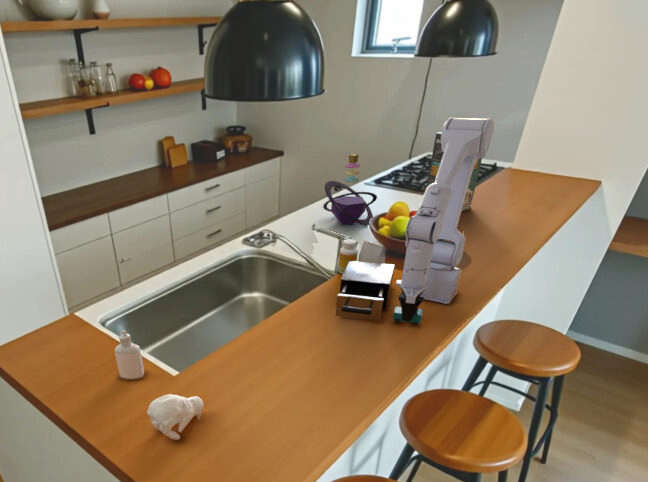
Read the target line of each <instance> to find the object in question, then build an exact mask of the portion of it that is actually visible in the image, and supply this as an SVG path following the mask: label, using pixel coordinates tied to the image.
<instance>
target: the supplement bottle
mask: <svg viewBox="0 0 648 482" xmlns="http://www.w3.org/2000/svg"><path fill="white" fill-rule="evenodd" d="M338 255H339V256H338V266H337V268H338V269H337V272H338V273H340V274H342V275H343V274H344V272H345V270H346V267H347V265H348V263H349V261H358V256H359V250H358V248H357V240H355V239H351V238H348V239H344V240H342V247H341V248H340V249H339V254H338Z"/></svg>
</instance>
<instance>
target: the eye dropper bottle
mask: <svg viewBox="0 0 648 482" xmlns="http://www.w3.org/2000/svg"><path fill="white" fill-rule="evenodd" d="M118 339H119V344H118V345H116V346H115V348H114V355H115V360H116V361H115V362H116V364H117V370H118V375H119V377H120V378H121V379H125V380H139V379H142V378H143V377H144V374H145V367H144V361H143V357H142V351H141V347H140V346H139V345H138V344H136V343H133V342H132V338H131V334H130V333H127V331H126V330H125V329H122V330H121V334H120V335H119V336H118Z"/></svg>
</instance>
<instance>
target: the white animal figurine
mask: <svg viewBox="0 0 648 482" xmlns="http://www.w3.org/2000/svg"><path fill="white" fill-rule="evenodd" d="M204 406H205V405H204V401H203V399H202V398H201V397H199V396H197V395H194V396H190V397H185V396H182V395H179V394H171V393H168V394H164V395H162V396H160V397H157V398H156V399H154V400H153V401H151V402H150V403H149V406H148V409H147V411H146V414H147V415H148V418H149V420H150V423H151V424H152V426H153V428H154V429H156V430H157V431H159V432H161V433H162V434H163V435H164V436H165V437H168V439H171V440H175V441H178V440H180V439H181V435H180V434H179V433H182V431H184V429H185V428H186V427H187V426H188V424H190V422H191V420H192V419H193V418H195V417H196V419H197V420H198V421H199V420H200V419H201V417H202V411H203V410H204ZM177 424H178V427H177V431H178V432H179V433H178V432H176V431H175V430H172V428H173V427H174V426H175V425H177Z"/></svg>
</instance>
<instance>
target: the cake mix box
mask: <svg viewBox="0 0 648 482" xmlns="http://www.w3.org/2000/svg"><path fill="white" fill-rule="evenodd" d="M441 133H442V131H439V132H436V134H435V138H434V143H433V147H432V148H433V149H432V154H431V160H430V165H429V170H428V176H427V181H426V187H425V189H426V188H427V187H428V186H429V185H431V184H433V183H434V182H435V179H436V176H437V173H438V170H439V167H440V163H441V160H442V157H443V154H444V152H443V151H442V144H441ZM482 160H483V158H480V159H477V161H476V164H475V166H474V168H473V171H472V175H471V179H470V182H469V186H468V189H467V193H466V197H465V200H464V204H463V207H462V211H461V212H463V211H466V210H470V209H471V206H472V203H473V199H474V194H475V189H476V185H477V181H478V177H479V174H480V169H481V164H482ZM469 205H471V206H469ZM466 206H468V207H466ZM464 207H465V208H464Z"/></svg>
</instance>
